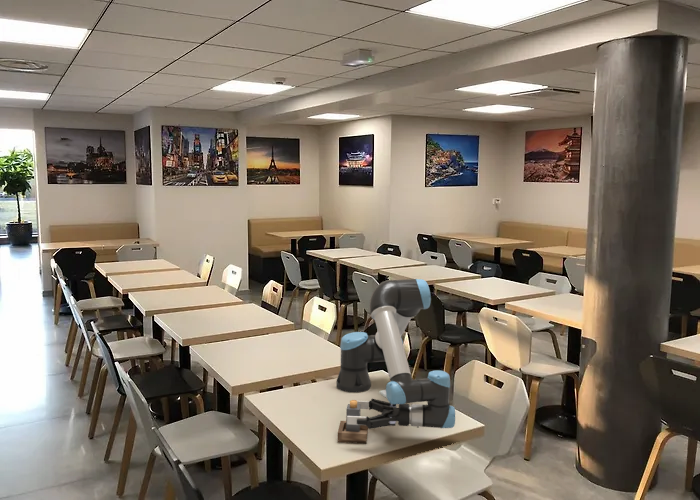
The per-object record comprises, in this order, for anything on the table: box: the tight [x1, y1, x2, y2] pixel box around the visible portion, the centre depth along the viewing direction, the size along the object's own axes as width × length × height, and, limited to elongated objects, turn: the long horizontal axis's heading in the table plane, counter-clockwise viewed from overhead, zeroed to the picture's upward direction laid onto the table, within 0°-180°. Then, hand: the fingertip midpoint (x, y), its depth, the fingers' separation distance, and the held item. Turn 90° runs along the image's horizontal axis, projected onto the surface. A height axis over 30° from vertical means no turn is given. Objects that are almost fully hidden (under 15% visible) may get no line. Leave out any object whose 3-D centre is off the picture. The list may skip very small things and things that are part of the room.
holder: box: [336, 420, 369, 445], centre depth 200 cm, size 10×10×4 cm
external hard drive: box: [378, 389, 387, 399], centre depth 238 cm, size 2×8×12 cm
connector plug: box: [345, 399, 361, 432], centre depth 200 cm, size 4×4×12 cm
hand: (348, 411), depth 199 cm, fingers open, 13 cm apart
